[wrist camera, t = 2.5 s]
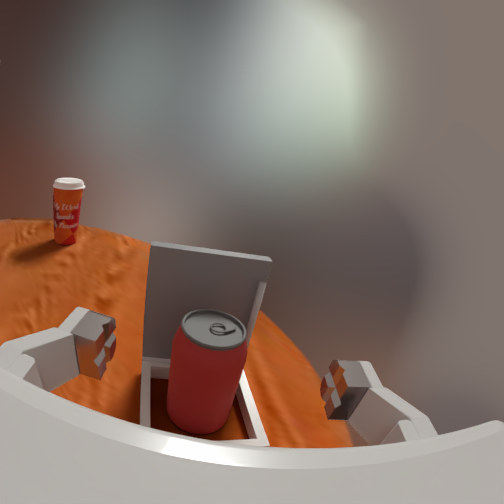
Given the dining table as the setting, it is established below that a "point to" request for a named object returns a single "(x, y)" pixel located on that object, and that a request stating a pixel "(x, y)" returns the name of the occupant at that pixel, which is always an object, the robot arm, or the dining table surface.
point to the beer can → (205, 370)
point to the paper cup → (67, 209)
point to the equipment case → (199, 297)
